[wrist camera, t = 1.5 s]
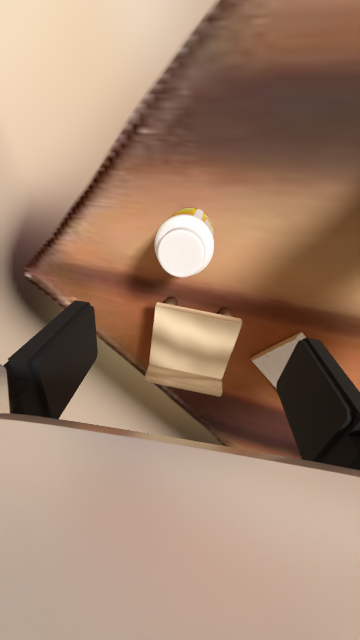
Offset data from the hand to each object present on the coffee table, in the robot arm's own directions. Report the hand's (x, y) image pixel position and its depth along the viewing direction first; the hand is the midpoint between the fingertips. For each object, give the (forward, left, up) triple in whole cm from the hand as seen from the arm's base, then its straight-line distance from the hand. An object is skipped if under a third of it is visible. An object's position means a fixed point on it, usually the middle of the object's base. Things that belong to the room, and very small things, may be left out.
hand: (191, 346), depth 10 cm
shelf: (+13, +1, -20) cm, 24 cm away
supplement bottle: (-1, -2, -21) cm, 21 cm away
